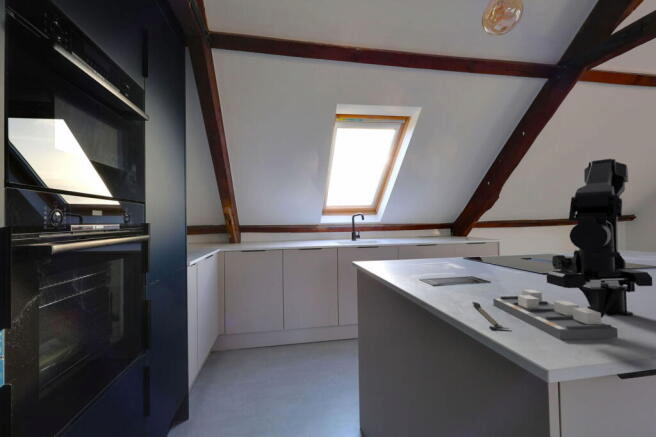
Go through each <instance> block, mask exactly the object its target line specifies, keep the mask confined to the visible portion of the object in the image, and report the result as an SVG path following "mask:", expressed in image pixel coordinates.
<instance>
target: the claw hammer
mask: <svg viewBox="0 0 656 437" xmlns="http://www.w3.org/2000/svg"><path fill="white" fill-rule="evenodd" d="M472 305H473V306H474V309H475V310H476V311H478V313H480V314H481V315H482V316H483V317H484V318H485V319H486V320H487V321H488V322H489V323H491V325H489V329H490V330H491V331H500V332H513V330H510V328H509V327H506V329H505V327H503V326H502V325H501V324H499V323H498V321H497V320H495V319H494V318H493V317H492V316H491V315H490V314H489V313H488V312H487V311H485V310H484V309H482V306H481V304H480V303H479V302H476V301H475V302H474V301H472Z"/></svg>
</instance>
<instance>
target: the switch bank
mask: <svg viewBox="0 0 656 437" xmlns="http://www.w3.org/2000/svg"><path fill="white" fill-rule="evenodd" d="M492 300H493V306H494V307H497V308H498V309H500V310H502V311H504V312H505V313H508V314H509V315H511V316H514V317H515V318H517V319H520V320H522V321H523V322H525V323H527V324H528V325H531V326H533V327H534V328H537V329H538V330H540V331H543V332H544V333H546V334H548V335H551V337H552V336H553V337H555V338H556V339H558V340H560V341H562V340H563V341H564V340H597V339H601V340H602V339H603V340H604V339H618V337H619V336H618V332H619V331H618V328H617V327H614V326H612V324H607V323H603V322H601V324H585V323H582V322H580V321H577V320H575V319H573V315H564V314H561V313H559V312H556V311H554V303H553V304H552V303H550V302H549V301H546V300H542V301H539V308H525V307H523V306H521V305H518V295H515V296H514V295H510V296H509V295H508V296H507V295H506V296H501V295H500V298H495V297H494V298H493V299H492Z"/></svg>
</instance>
